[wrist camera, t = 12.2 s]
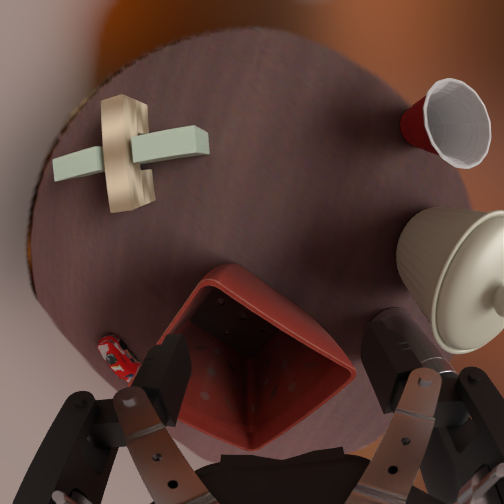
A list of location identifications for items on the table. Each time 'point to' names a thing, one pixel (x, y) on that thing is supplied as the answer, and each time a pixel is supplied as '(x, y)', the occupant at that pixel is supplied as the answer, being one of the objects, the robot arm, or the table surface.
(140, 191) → the slotted plate
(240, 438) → the plant pot
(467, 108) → the plastic cup
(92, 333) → the table surface
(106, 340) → the race car
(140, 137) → the notched board
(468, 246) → the canister
